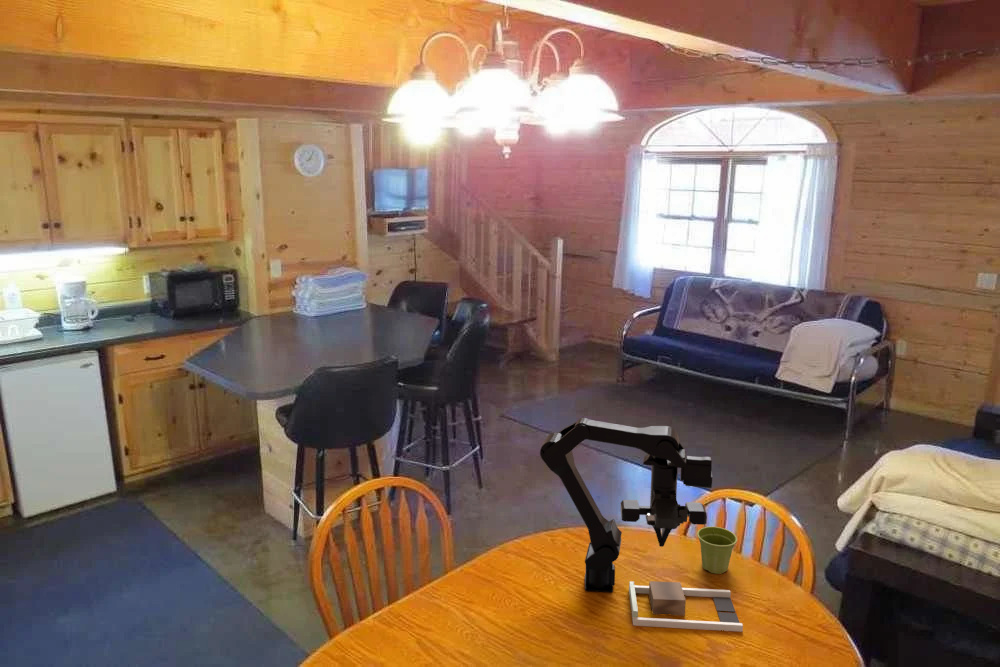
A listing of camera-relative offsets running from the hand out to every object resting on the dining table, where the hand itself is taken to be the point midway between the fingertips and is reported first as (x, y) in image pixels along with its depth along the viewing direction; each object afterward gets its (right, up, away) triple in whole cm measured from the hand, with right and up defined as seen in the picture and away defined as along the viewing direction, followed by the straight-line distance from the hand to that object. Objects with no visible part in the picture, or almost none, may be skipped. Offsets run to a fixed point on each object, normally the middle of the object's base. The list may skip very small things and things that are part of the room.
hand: (661, 545), depth 159 cm
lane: (+4, -13, -4) cm, 14 cm away
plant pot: (+16, -9, +13) cm, 23 cm away
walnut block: (+1, -13, -2) cm, 13 cm away
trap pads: (+13, -13, -5) cm, 20 cm away
